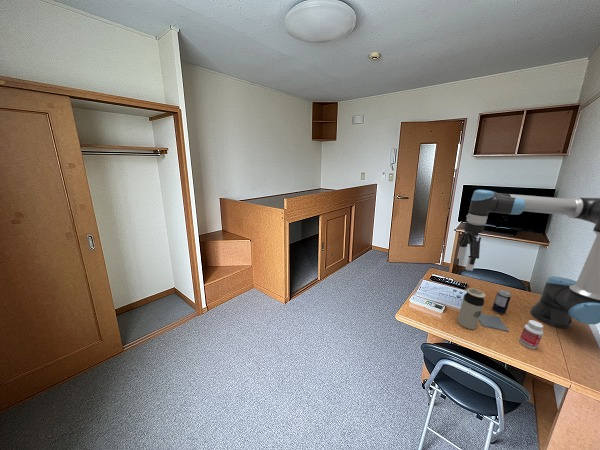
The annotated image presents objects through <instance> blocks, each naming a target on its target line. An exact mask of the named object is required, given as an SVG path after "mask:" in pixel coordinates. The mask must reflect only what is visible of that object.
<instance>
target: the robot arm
mask: <svg viewBox="0 0 600 450" xmlns="http://www.w3.org/2000/svg"><path fill="white" fill-rule="evenodd" d="M523 212H529V213H538V214H540V213H541V214H548V215H549V214H550V215H561V216H562V215H563V216H567V218H569V219H576V220H577V219H578V220H582V221H585V222H589V223H592V224H595V225H594V227H593V229H592V232H593V233H594V234H595V235H596V236H595V239H594V241H593V244H592V245H591V247H590V250H589V252H588V255H587V257H586V260H585V261H584V264H583V266H582V268H581V271H580V274H579V276H578V277H577V280H574V279H571V278H570V279H569V278H565V277H561V276H555V275H554V276H550V277H548V279H547V280H546V282H545V285H544V288H543V290H542V293H541V296H540V298H539V300H538V301H537V302H536V303H535V304H534V305H533V306H532V307H531V309H530V311H529V312H530V314H531V315H532V316H533V317H534V318H535V319H537V321H541V322H542V323H544V324H547V325H549V326H552V327H555V328H560V329H570V328H571V326H572V324H573V319H574V320H575V321H577V322H579V323H581V324H583V325H598V324H600V197H580V196H579V197H577V196H575V197H571V198H564V197H563V198H561V197H551V196H537V195H525V194H514V193H512V194H511V193H501V192H499V193H498V192H497V191H492V190H487V189H476V190H474V191H473V193H472V197H471V200H470V205H469V209H468V213H467V215H466V216H465V217H466V220H465V221H466V222H465V224H464V228H463V229H464V232H463V234H462V236H461V238H460V240H459V241H458V244H459V248H458V254H457V256H456V259H459V260H464V257H465V255H466V250H467V247H468V245H469V255H468V259H467V262H466V266H465V271H471V272H472V271H474V267H475V264H476V259H477V260H478V259H480V251H481V249H480V248H481V241H482V237H481V236H479V234H482V233H483V232H484V229H485V225H486V224H487V220H488V216H489V213H495V214H497V213H498V214H505V215H510V216H511V215H517V216H518V215H521V214H522V213H523ZM572 318H573V319H572Z"/></svg>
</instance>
